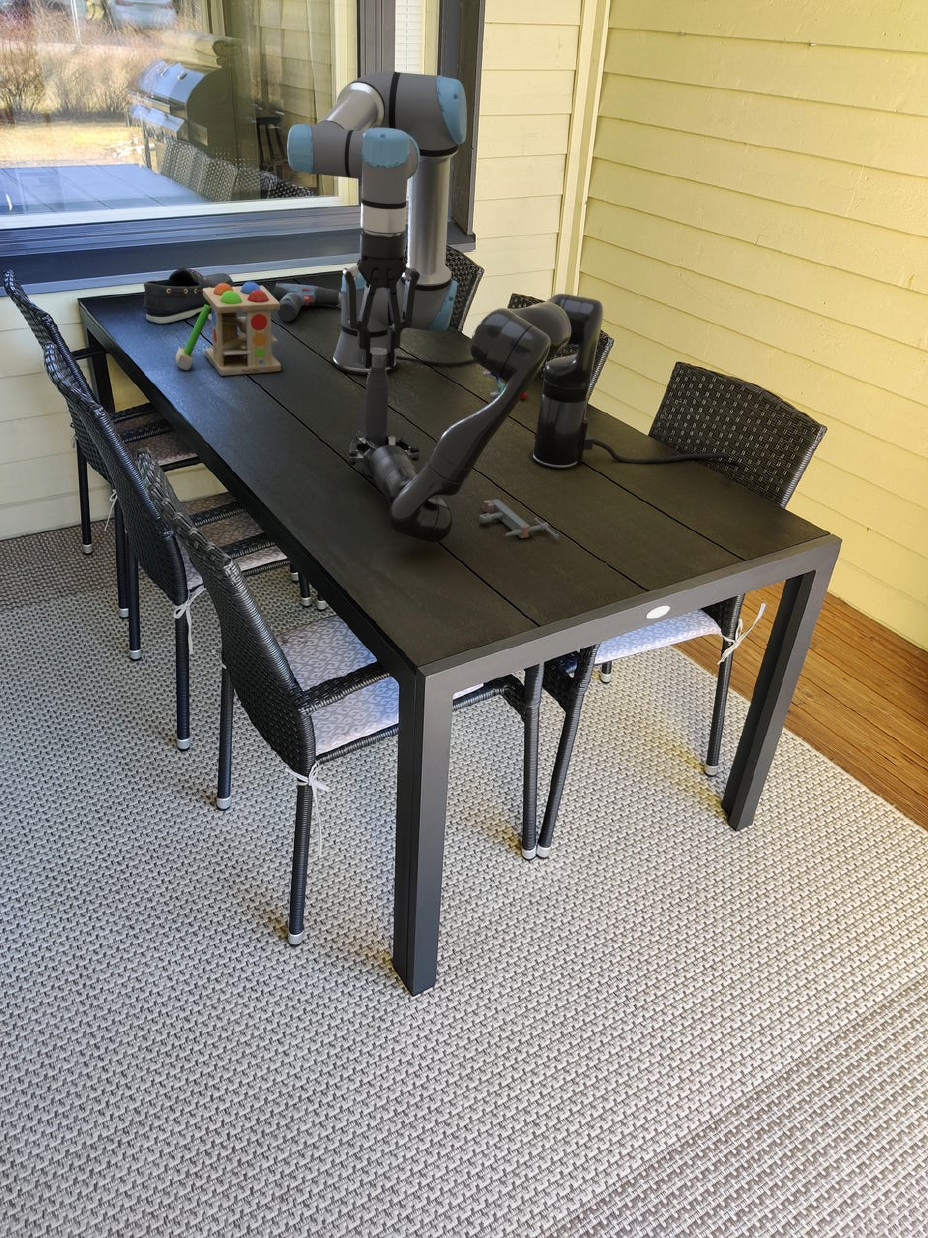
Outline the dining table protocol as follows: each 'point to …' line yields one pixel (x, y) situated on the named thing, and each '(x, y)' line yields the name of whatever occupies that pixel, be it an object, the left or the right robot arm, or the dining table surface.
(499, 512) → the clamp
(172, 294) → the boat shoe
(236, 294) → the pounding bench toy
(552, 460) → the right robot arm
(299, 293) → the power drill
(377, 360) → the cap
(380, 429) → the dark grey cylinder
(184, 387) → the dining table surface
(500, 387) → the molecular model
